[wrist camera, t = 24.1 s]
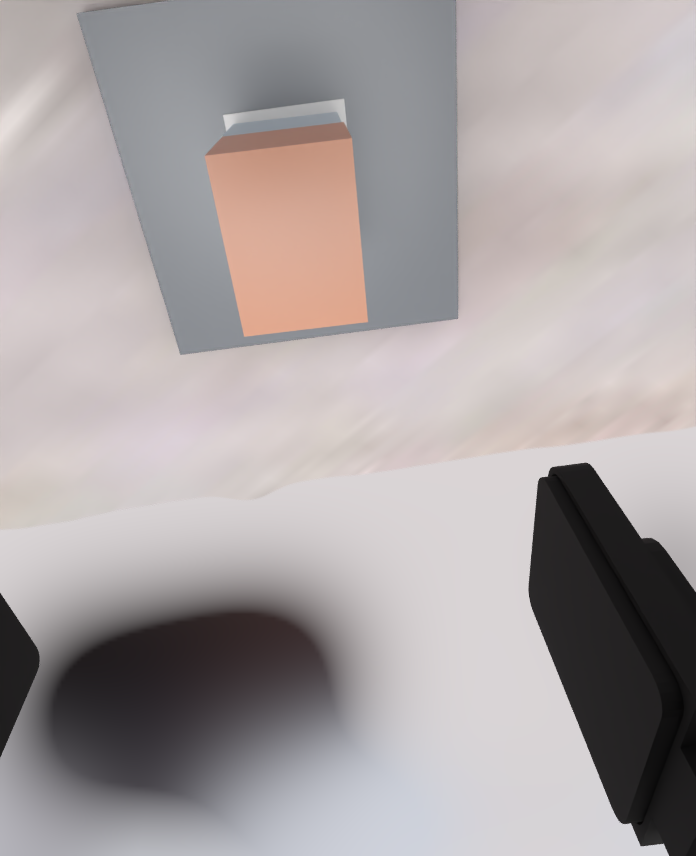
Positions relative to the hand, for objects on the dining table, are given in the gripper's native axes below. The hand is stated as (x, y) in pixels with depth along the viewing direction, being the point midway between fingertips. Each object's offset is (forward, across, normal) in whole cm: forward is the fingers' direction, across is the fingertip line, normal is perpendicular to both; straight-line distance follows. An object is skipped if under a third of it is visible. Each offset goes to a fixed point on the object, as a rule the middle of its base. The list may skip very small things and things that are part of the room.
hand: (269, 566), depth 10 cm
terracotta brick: (+25, 0, 0) cm, 25 cm away
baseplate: (+32, 0, 0) cm, 32 cm away
